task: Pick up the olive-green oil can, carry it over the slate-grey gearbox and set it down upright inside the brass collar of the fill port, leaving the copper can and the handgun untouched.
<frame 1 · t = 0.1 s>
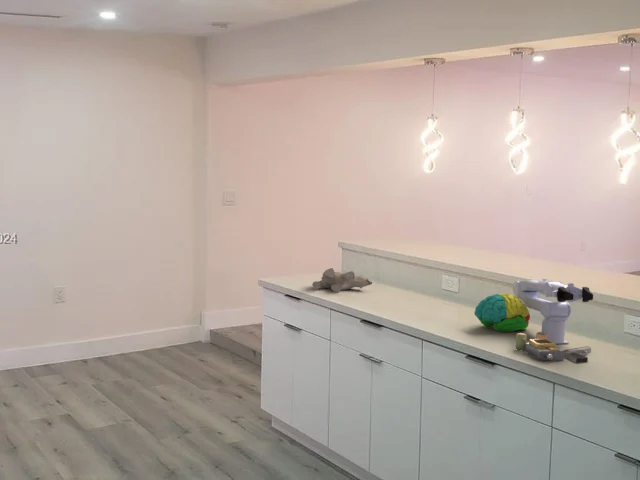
hand: (582, 296, 269), 22 cm above the worktop, fingers open, 7 cm apart
handgun: (581, 358, 270), on the worktop
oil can: (520, 349, 278), on the worktop
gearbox: (543, 356, 269), on the worktop
copper can: (540, 348, 280), on the worktop
animal model: (342, 291, 388), on the worktop
brain model: (501, 329, 310), on the worktop, touching arm
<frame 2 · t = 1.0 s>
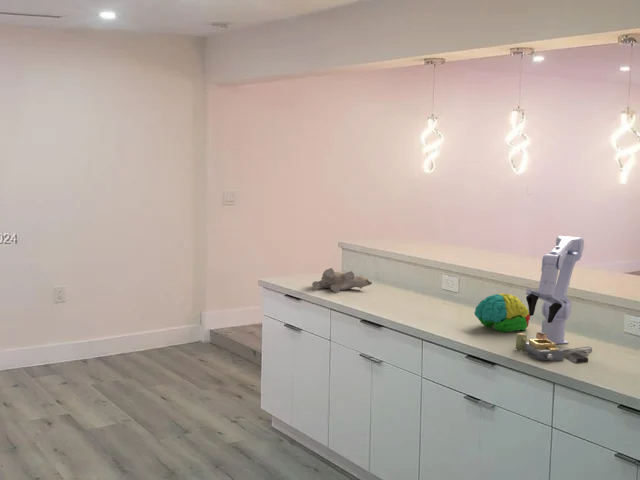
hand: (540, 318, 271), 13 cm above the worktop, fingers open, 7 cm apart
brain model: (501, 329, 310), on the worktop
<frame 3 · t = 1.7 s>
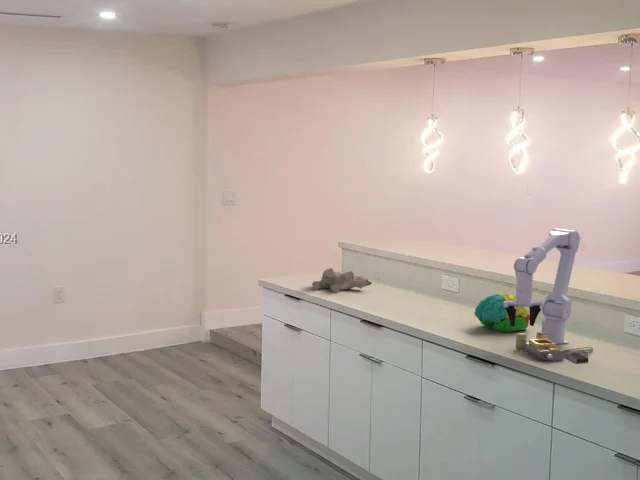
hand: (522, 325, 276), 9 cm above the worktop, fingers open, 7 cm apart
nothing on the worktop moved.
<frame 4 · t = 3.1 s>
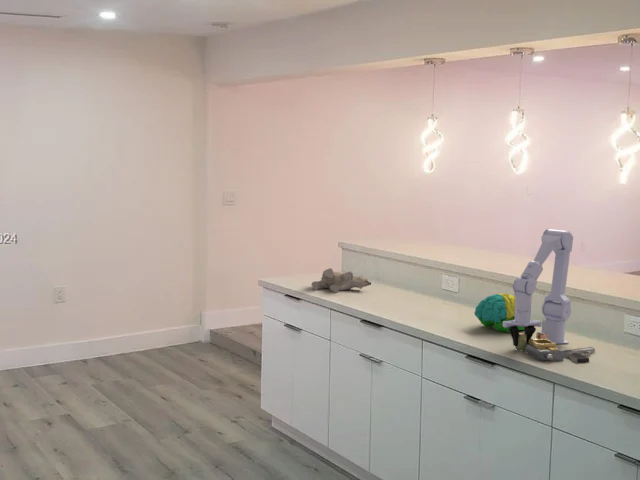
hand: (520, 345, 277), 1 cm above the worktop, fingers closed on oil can, 4 cm apart
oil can: (520, 349, 278), on the worktop, touching gripper
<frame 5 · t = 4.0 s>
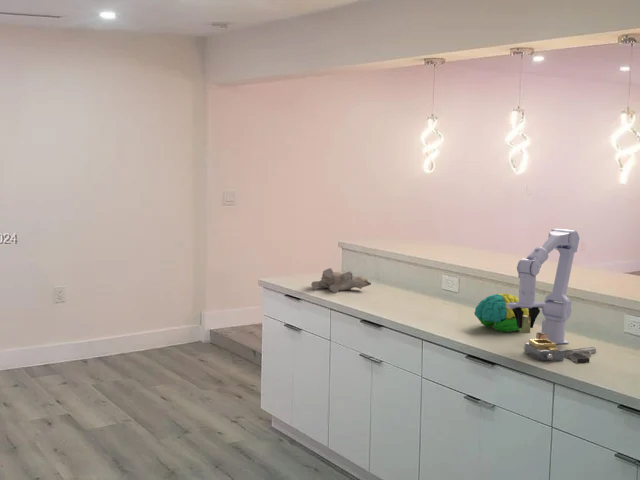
hand: (525, 327, 275), 9 cm above the worktop, fingers closed on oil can, 4 cm apart
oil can: (524, 331, 276), point 7 cm above the worktop, touching gripper
when the fingers open (6 cm above the worktop, at t = 5.2 s): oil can stays where it is, resting on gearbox.
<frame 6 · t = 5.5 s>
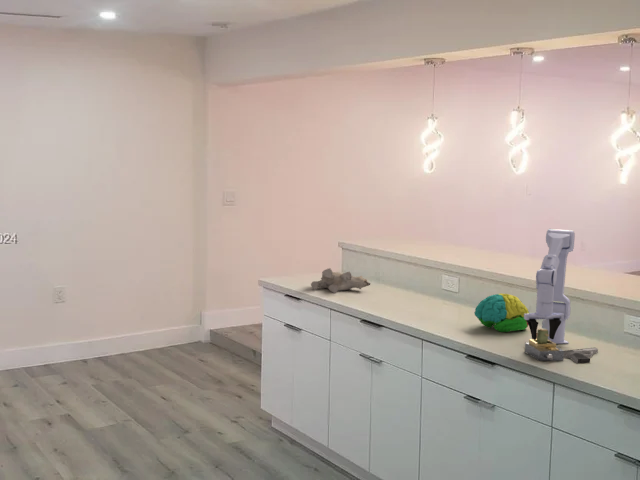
hand: (542, 338, 270), 6 cm above the worktop, fingers open, 6 cm apart
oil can: (542, 345, 270), point 3 cm above the worktop, touching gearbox
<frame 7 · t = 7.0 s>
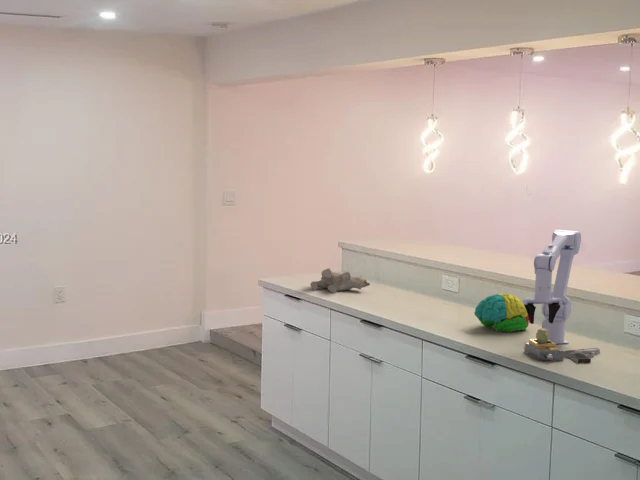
hand: (541, 323, 275), 10 cm above the worktop, fingers open, 7 cm apart
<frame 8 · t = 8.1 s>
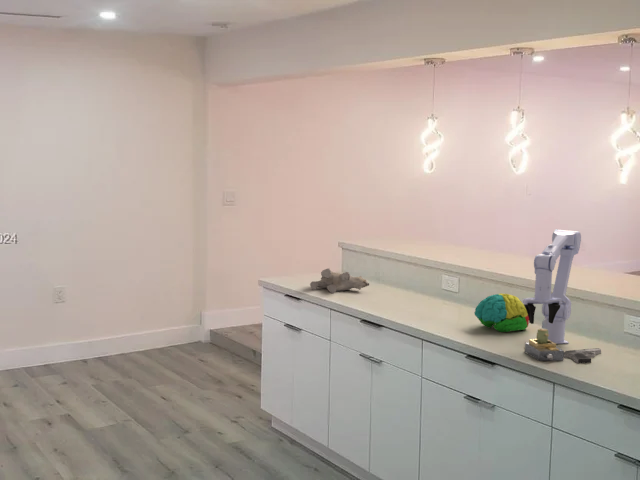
hand: (541, 323, 275), 10 cm above the worktop, fingers open, 7 cm apart
at the end: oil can 0.1 cm from the target spot on the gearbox, point 3.5 cm above the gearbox's base; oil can tilted 0°; the gripper is holding nothing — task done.
